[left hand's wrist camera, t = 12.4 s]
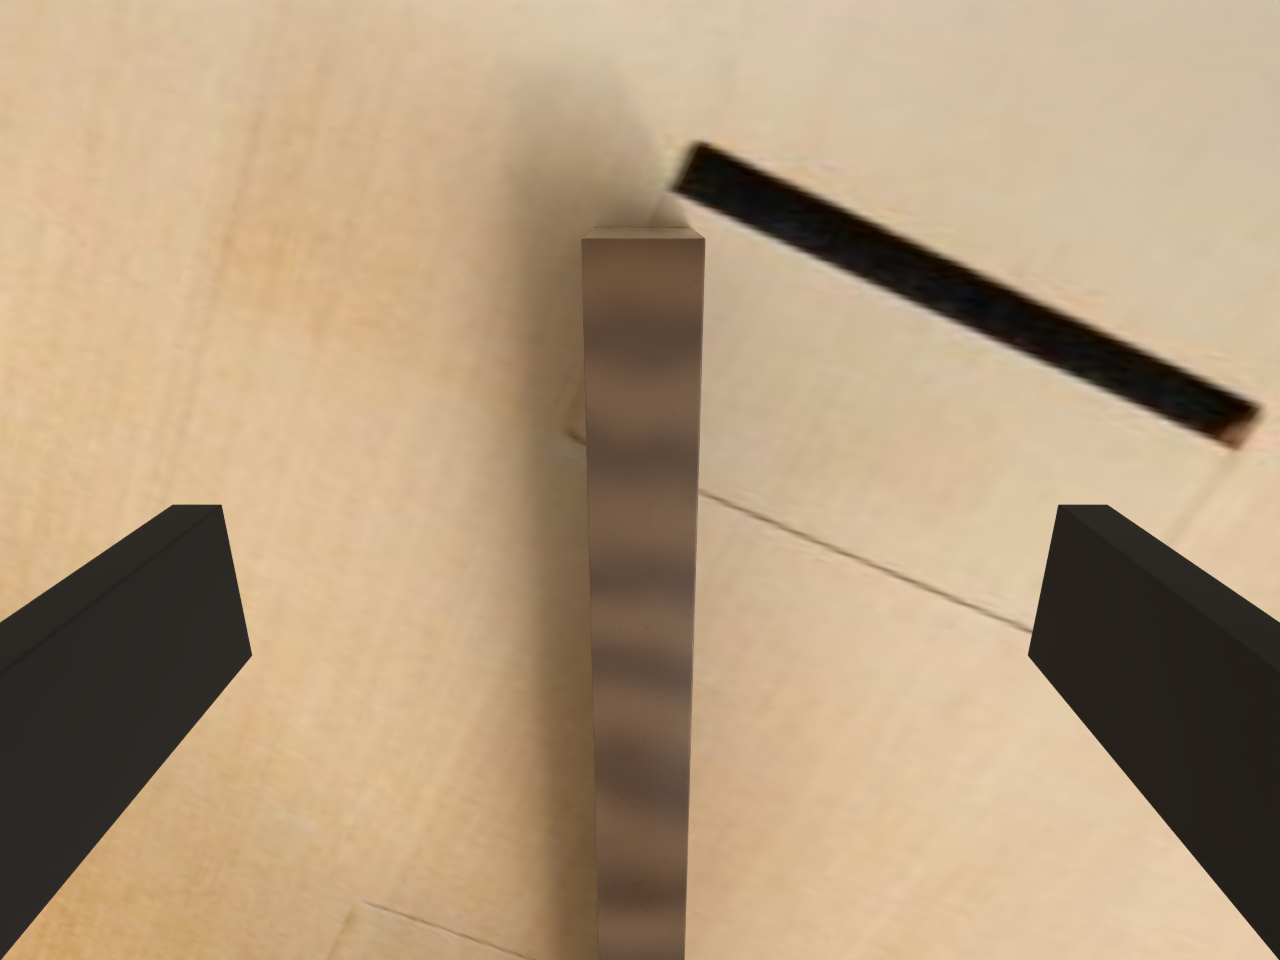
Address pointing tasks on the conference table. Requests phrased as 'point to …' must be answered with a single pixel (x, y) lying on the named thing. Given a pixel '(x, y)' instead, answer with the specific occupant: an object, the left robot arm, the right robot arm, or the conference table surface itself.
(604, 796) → the beam
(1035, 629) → the left robot arm
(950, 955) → the conference table surface
